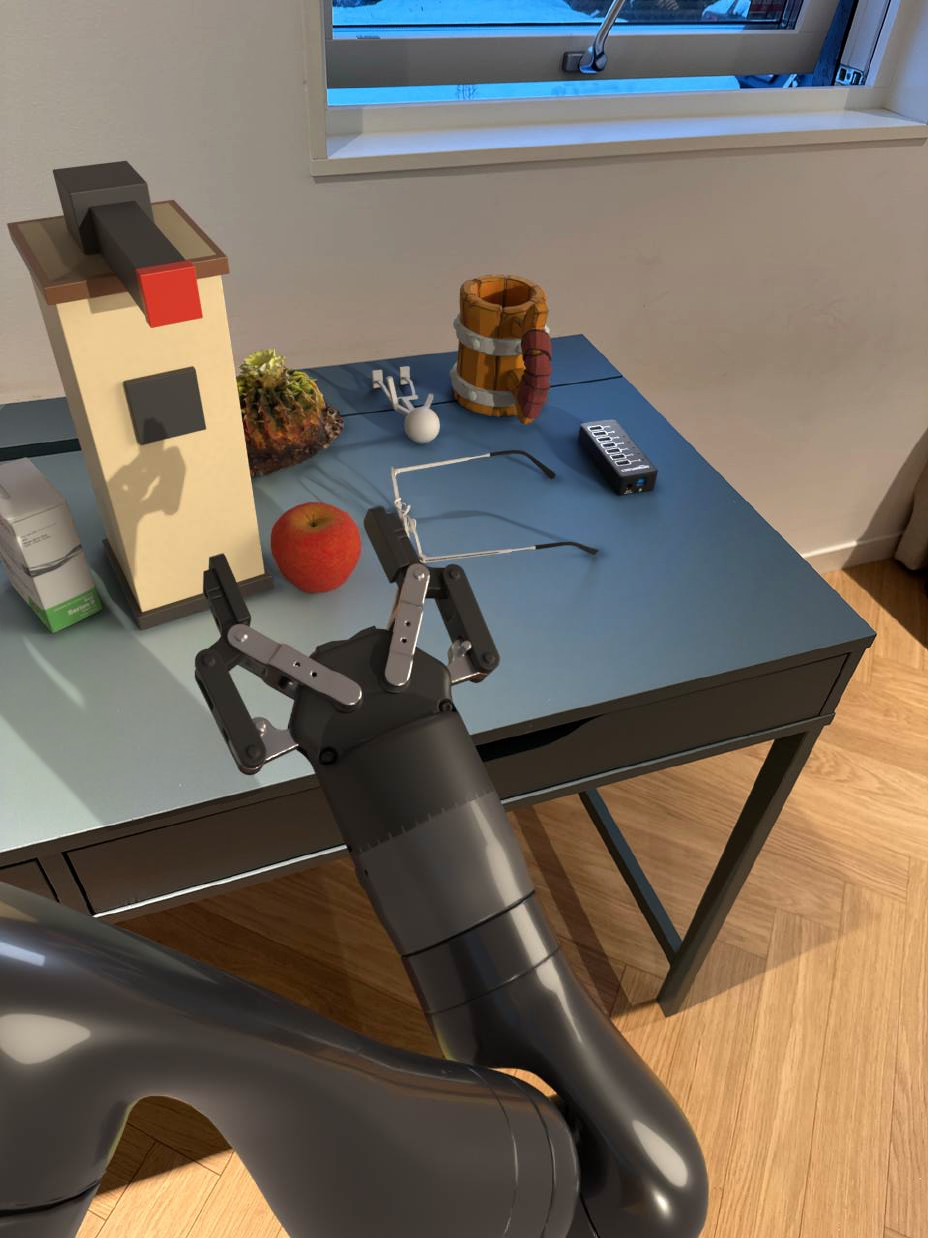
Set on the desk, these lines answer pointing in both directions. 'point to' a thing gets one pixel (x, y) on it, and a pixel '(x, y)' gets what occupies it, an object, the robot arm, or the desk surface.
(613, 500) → the desk surface
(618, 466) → the multiport hub
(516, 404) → the mug
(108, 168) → the flashlight
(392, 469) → the eyeglasses
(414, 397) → the figurine
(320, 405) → the cactus
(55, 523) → the ink box
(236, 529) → the tall tapered bin
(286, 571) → the apple
